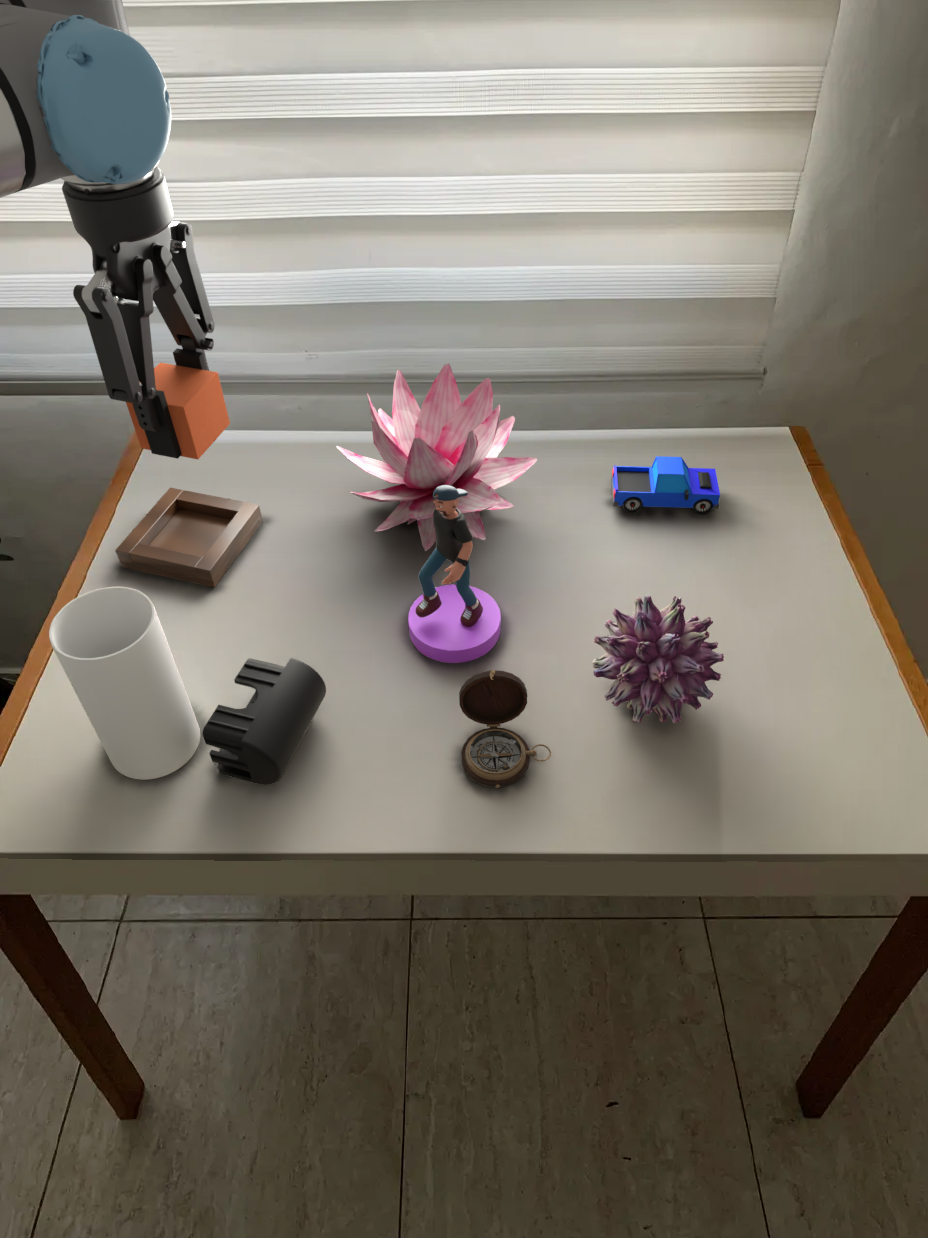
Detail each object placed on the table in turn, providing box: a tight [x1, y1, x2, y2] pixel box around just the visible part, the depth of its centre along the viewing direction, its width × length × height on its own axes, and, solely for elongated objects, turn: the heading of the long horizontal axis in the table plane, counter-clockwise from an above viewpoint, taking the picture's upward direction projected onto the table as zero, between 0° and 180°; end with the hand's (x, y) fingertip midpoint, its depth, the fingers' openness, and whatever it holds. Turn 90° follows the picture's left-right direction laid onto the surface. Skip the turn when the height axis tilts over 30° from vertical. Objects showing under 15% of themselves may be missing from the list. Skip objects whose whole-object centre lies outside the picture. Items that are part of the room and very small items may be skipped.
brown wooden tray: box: [115, 487, 264, 588], centre depth 102 cm, size 12×12×2 cm
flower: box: [592, 595, 725, 724], centre depth 82 cm, size 12×12×12 cm
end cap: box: [202, 657, 327, 786], centre depth 81 cm, size 10×7×7 cm
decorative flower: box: [335, 363, 538, 552], centre depth 101 cm, size 21×21×15 cm
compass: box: [458, 669, 552, 789], centre depth 80 cm, size 8×8×7 cm
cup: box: [48, 586, 201, 781], centre depth 78 cm, size 8×8×16 cm
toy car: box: [610, 455, 721, 515], centre depth 105 cm, size 7×12×5 cm, turn 86°
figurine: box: [407, 485, 502, 664], centre depth 87 cm, size 9×9×18 cm
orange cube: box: [125, 362, 231, 460], centre depth 83 cm, size 6×6×6 cm
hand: (185, 432), depth 85 cm, fingers closed on orange cube, 6 cm apart
